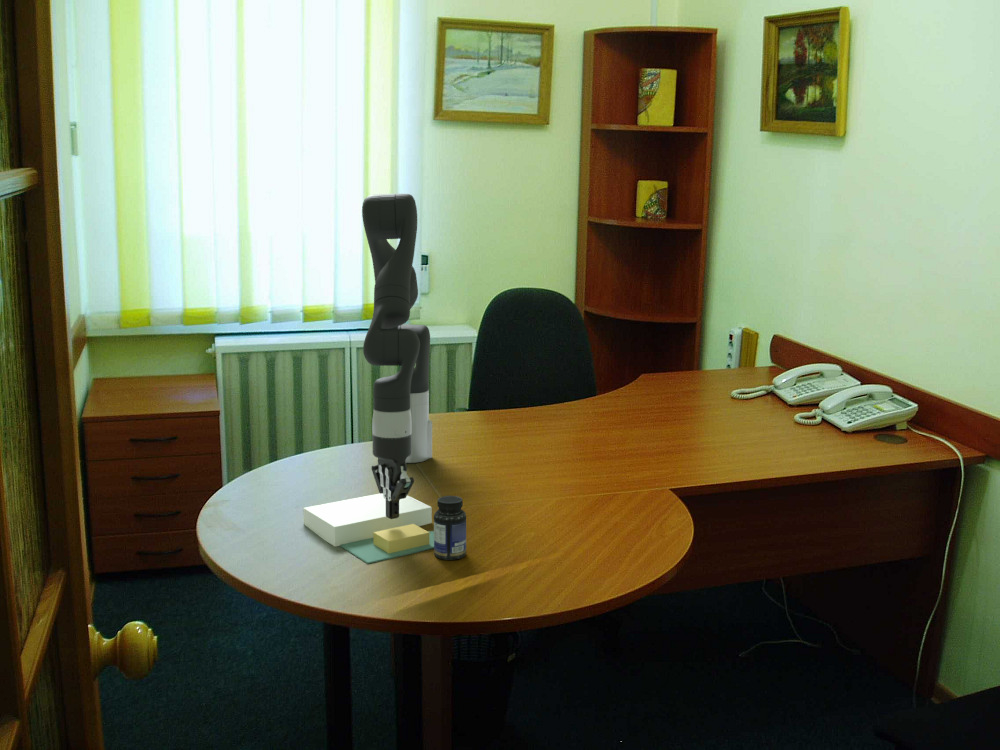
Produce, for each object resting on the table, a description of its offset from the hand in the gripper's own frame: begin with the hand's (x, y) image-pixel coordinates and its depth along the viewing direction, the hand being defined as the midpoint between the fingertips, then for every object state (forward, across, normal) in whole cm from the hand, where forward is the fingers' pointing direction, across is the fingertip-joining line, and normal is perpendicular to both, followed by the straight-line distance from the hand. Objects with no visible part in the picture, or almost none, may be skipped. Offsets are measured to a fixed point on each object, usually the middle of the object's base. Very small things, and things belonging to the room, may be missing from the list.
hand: (392, 517), depth 187 cm
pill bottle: (+5, -13, -5) cm, 15 cm away
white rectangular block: (+5, +10, 0) cm, 11 cm away
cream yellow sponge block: (+2, -4, 0) cm, 4 cm away
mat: (+5, -3, 0) cm, 5 cm away
